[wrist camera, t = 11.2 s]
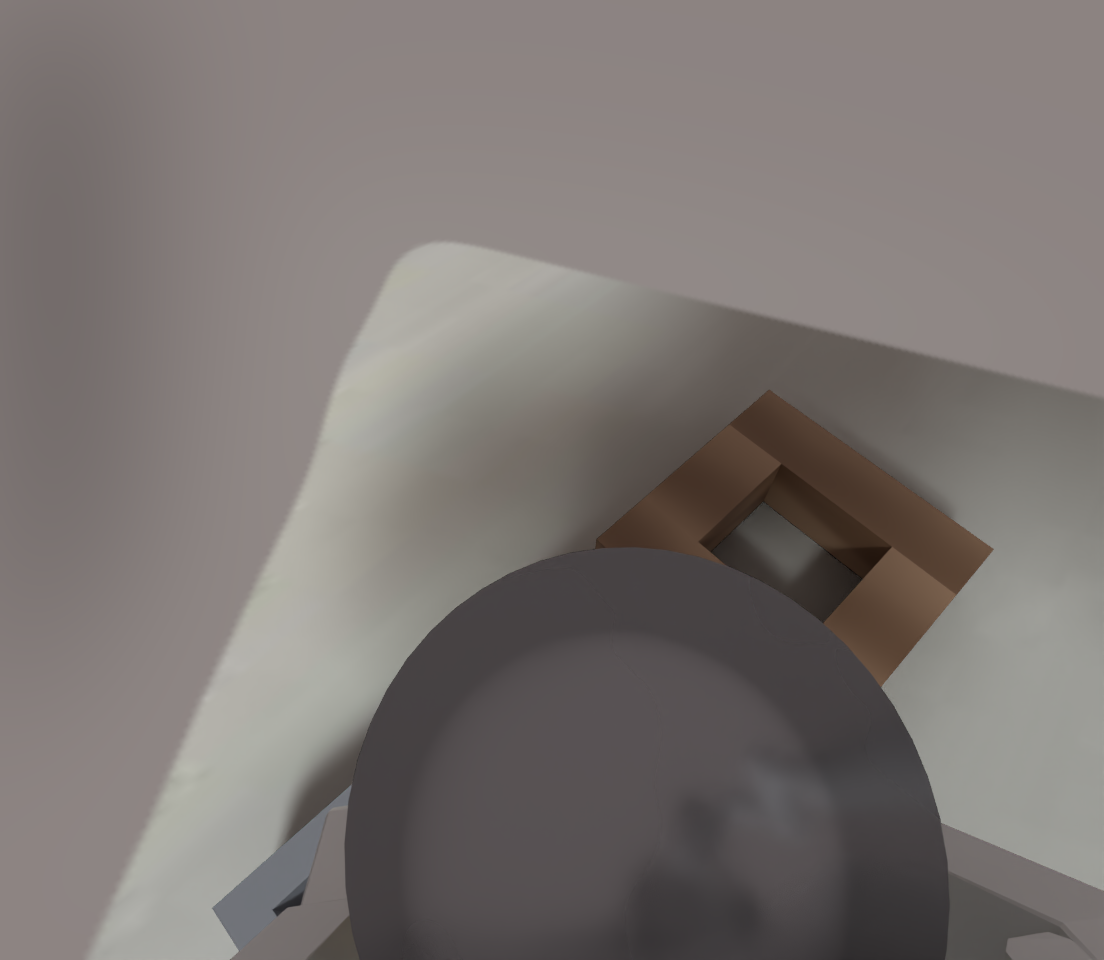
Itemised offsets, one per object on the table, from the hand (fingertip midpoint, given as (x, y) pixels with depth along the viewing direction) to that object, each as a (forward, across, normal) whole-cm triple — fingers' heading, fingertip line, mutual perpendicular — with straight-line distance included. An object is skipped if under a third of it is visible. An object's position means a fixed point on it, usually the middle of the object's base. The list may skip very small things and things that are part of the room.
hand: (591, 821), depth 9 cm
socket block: (+16, -9, +4) cm, 19 cm away
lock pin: (+4, 0, +4) cm, 6 cm away
